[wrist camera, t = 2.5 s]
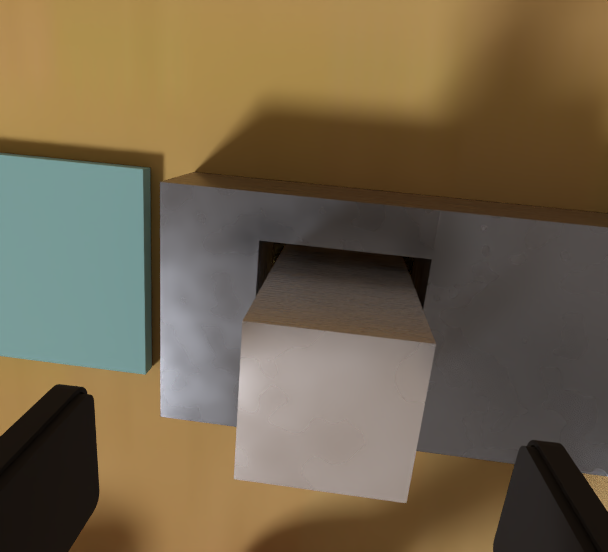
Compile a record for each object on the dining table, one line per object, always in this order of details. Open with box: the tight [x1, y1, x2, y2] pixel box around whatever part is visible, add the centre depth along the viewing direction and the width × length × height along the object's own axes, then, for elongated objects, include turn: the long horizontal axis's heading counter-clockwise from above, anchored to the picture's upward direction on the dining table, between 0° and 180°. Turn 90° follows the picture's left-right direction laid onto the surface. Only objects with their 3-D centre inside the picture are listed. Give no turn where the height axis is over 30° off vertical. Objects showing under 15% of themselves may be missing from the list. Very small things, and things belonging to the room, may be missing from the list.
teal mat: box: [0, 153, 152, 375], centre depth 23 cm, size 10×10×1 cm
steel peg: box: [234, 243, 436, 503], centre depth 18 cm, size 5×5×10 cm
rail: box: [160, 172, 608, 476], centre depth 21 cm, size 20×10×4 cm, turn 85°
